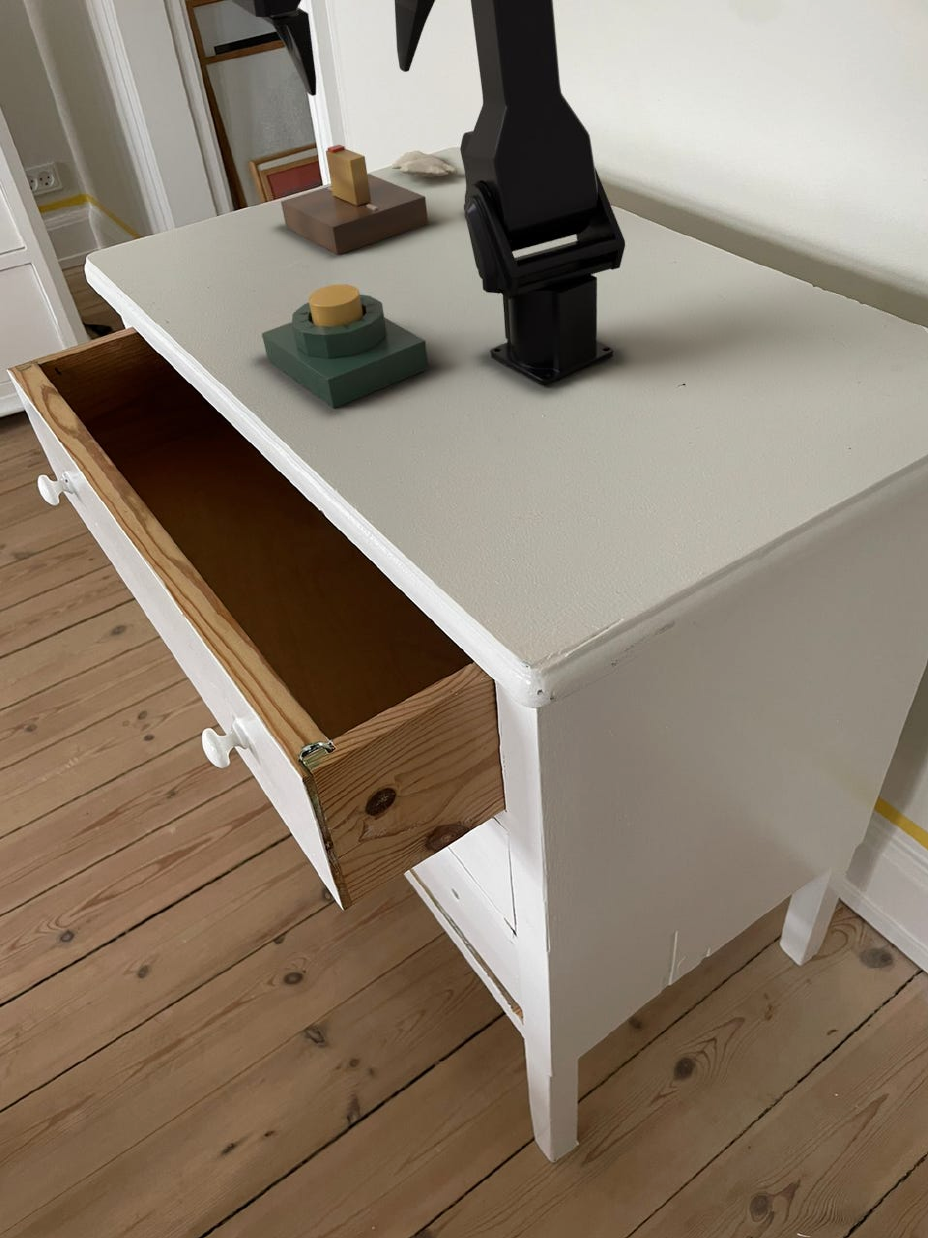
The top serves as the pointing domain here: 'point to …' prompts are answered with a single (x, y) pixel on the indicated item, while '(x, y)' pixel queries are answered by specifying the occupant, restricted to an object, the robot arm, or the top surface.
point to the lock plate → (355, 216)
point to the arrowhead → (422, 165)
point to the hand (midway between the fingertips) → (358, 81)
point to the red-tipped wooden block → (348, 175)
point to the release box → (345, 353)
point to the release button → (335, 305)
